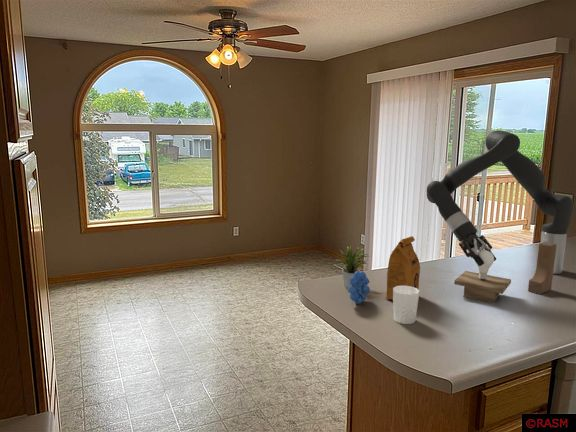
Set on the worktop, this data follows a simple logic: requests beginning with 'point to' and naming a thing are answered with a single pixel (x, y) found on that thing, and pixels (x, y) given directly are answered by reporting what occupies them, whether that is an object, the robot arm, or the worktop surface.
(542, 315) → the worktop surface
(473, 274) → the stand
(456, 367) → the worktop surface
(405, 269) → the coffee package
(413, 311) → the white cup
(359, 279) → the grapes
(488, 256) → the lightbulb
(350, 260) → the house plant
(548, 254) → the wooden block
